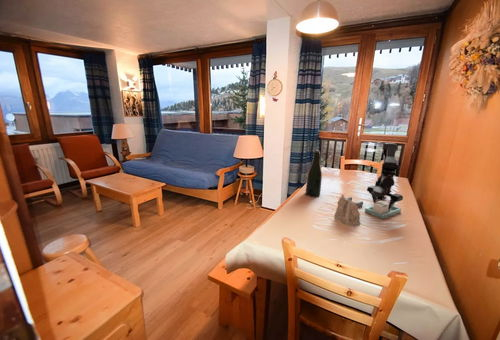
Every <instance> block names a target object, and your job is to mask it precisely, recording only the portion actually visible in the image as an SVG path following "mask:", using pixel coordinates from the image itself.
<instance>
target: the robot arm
mask: <svg viewBox="0 0 500 340" xmlns="http://www.w3.org/2000/svg"><path fill="white" fill-rule="evenodd" d="M381 149H382V153H383V156H384V157H383V162H382V164H381V171H380V175H379V177H377V180H375V184H374V185H370V186H367V188H366V191H367V192H368V193H369V194H370V195H371V197H372V202H373V204H374V203H375V202H377V199H379V200H384V199H387V197H389V198H390V199H389V200H390V204H389V207H388V209H390V208H391V207H392V206H395V204H396V203H397V202H401V201H403V200H404V197H403V195H402V194H399V193H392V187H393V186H394V185H395V178H394V176H395V177H396V176H397V175H398V174H399V169H400V166H399V164H398V160H397V159H396V152H398V150H399V144H397V143H394V142H393V143H392V142H385V143H383V144H382V148H381Z"/></svg>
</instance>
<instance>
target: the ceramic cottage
mask: <svg viewBox="0 0 500 340" xmlns="http://www.w3.org/2000/svg"><path fill="white" fill-rule="evenodd" d="M345 198H346V197H345V195H344V194H341V196H340V198H339V199H338V201H337V207H336V211H335V213H334V218H335V220H337V221H339V222H341V223H342V224H343V225H346V226H349V227H351V228H352V227H355V228H356V227H358V226H360V225H361V220H360V218H361V217H360V216H361V213H360V211H359V210H358V208H359V207H357V205H356V203H357V202H355V203H351V200H350V199H349V201H348V200H346V199H345Z"/></svg>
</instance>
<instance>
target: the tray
mask: <svg viewBox="0 0 500 340" xmlns="http://www.w3.org/2000/svg"><path fill="white" fill-rule="evenodd" d="M373 207H374V204H373V205H371V206H367V207H365V209H364V212H365V213H367V214H369V215H372V216H373V217H376V218H377V219H380V220H385V219H386V218H389V217H393V216H395V215H397V214H400V213H401V211H402V208H400V207H398V206H396V205H393V206H392V207H391V208H390V210H388V212H387V213H385V214H380V213H378V212H375V211H373Z"/></svg>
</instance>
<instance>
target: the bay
mask: <svg viewBox="0 0 500 340" xmlns="http://www.w3.org/2000/svg"><path fill="white" fill-rule="evenodd" d="M345 199H346V200H348V201H349V199H350V200H351V203H356V205H357V207H358V208H360V207H363V204H364V201H362V200H360V201H357V202H354V201H353V196H349V197H345Z"/></svg>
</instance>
